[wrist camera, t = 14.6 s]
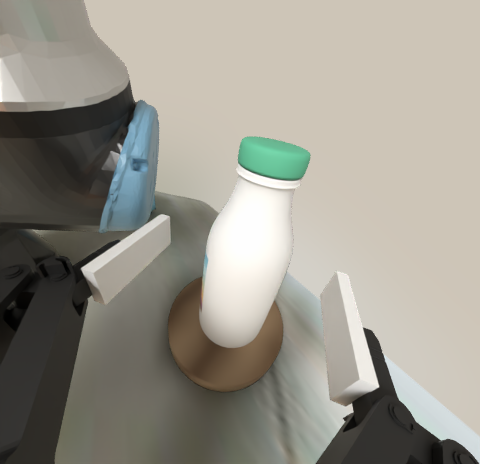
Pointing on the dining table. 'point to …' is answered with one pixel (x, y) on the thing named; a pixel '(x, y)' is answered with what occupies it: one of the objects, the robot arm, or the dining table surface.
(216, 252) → the milk bottle
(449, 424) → the dining table surface
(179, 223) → the dining table surface
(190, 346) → the brown round coaster
